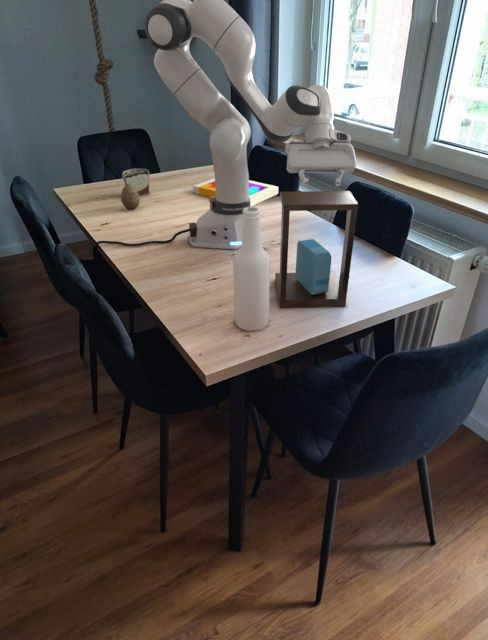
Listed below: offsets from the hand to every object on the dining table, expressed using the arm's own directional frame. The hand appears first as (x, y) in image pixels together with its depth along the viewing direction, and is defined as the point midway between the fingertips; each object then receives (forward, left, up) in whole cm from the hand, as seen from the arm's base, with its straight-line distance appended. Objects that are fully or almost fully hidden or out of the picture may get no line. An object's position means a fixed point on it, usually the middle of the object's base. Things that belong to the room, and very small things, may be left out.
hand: (322, 185), depth 141 cm
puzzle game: (-27, +66, -25) cm, 76 cm away
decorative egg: (-66, +51, -25) cm, 87 cm away
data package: (-5, -20, -22) cm, 31 cm away
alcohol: (-22, -35, -25) cm, 48 cm away
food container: (-67, +69, -25) cm, 99 cm away
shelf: (-5, -20, -25) cm, 32 cm away
